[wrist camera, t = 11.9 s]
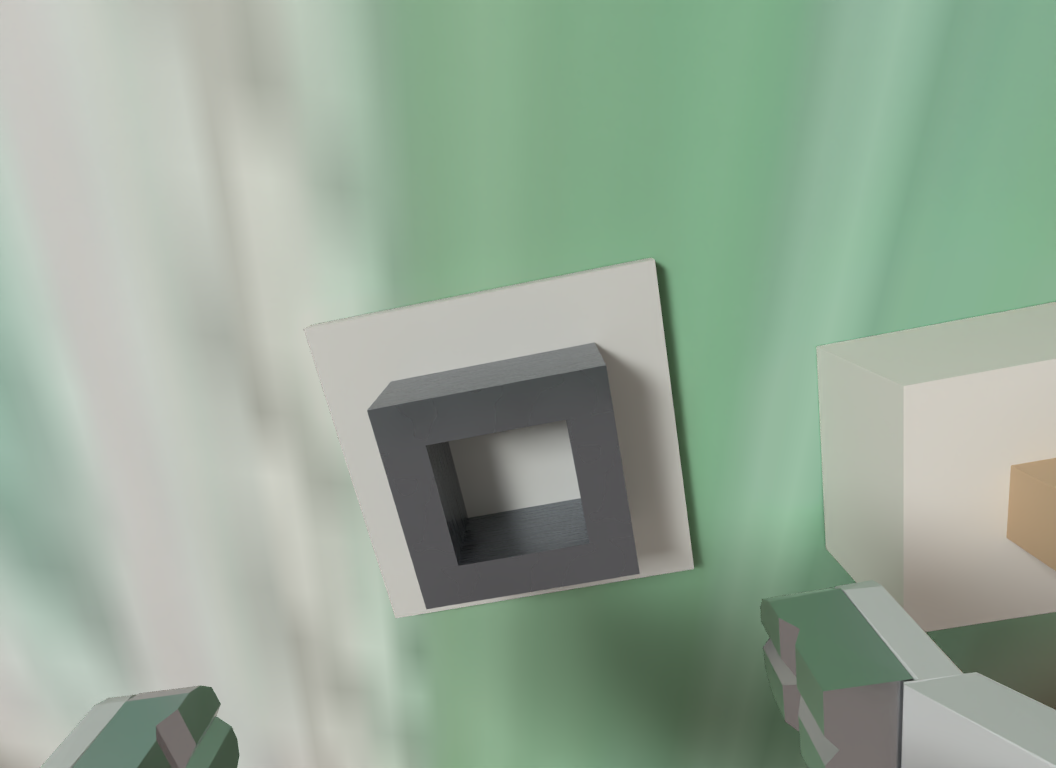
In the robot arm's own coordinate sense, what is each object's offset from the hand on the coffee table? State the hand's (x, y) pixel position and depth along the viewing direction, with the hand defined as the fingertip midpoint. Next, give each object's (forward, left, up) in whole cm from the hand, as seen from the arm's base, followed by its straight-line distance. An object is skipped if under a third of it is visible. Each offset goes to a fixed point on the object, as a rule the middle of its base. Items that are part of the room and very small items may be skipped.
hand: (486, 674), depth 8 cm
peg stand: (+3, +13, -10) cm, 16 cm away
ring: (+1, 0, -9) cm, 9 cm away
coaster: (+1, 0, -10) cm, 10 cm away
